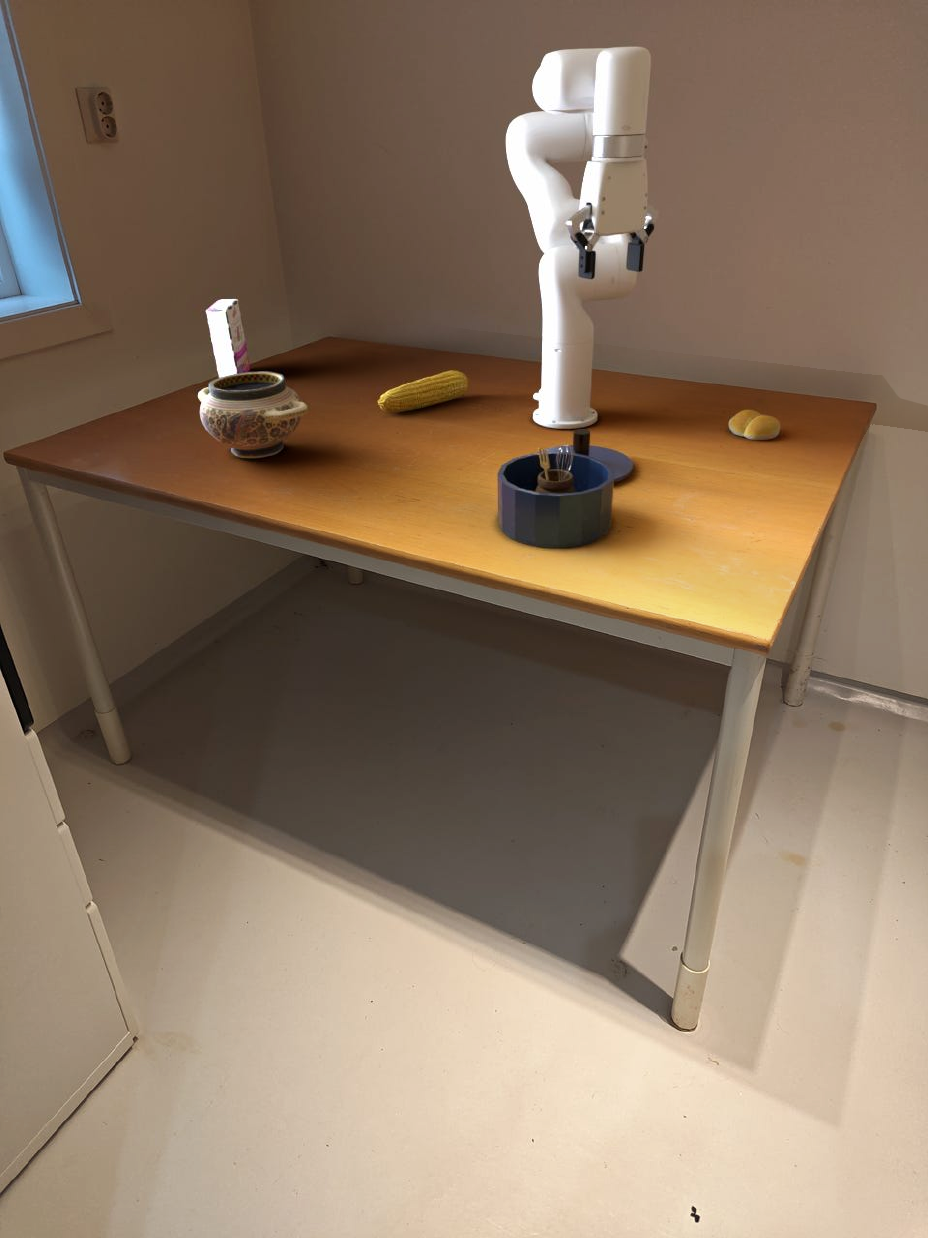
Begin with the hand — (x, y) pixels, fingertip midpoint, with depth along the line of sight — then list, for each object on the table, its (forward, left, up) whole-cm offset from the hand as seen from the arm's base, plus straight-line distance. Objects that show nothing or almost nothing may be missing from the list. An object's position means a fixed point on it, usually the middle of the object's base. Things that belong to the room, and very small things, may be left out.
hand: (610, 274), depth 131 cm
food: (-44, -10, -31) cm, 54 cm away
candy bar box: (-90, -35, -31) cm, 102 cm away
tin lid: (+2, -6, -30) cm, 30 cm away
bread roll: (+7, +31, -31) cm, 44 cm away
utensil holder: (+16, -23, -30) cm, 41 cm away
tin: (+16, -22, -30) cm, 41 cm away
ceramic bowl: (-40, -48, -31) cm, 70 cm away
